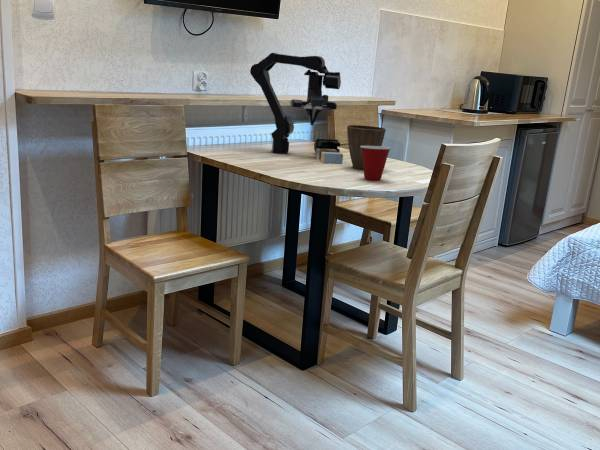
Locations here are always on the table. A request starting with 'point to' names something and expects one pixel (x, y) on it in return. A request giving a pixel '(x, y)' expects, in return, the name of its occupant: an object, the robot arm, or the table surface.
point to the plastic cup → (374, 161)
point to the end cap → (326, 144)
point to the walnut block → (318, 151)
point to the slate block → (331, 157)
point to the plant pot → (362, 141)
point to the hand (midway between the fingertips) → (311, 125)
